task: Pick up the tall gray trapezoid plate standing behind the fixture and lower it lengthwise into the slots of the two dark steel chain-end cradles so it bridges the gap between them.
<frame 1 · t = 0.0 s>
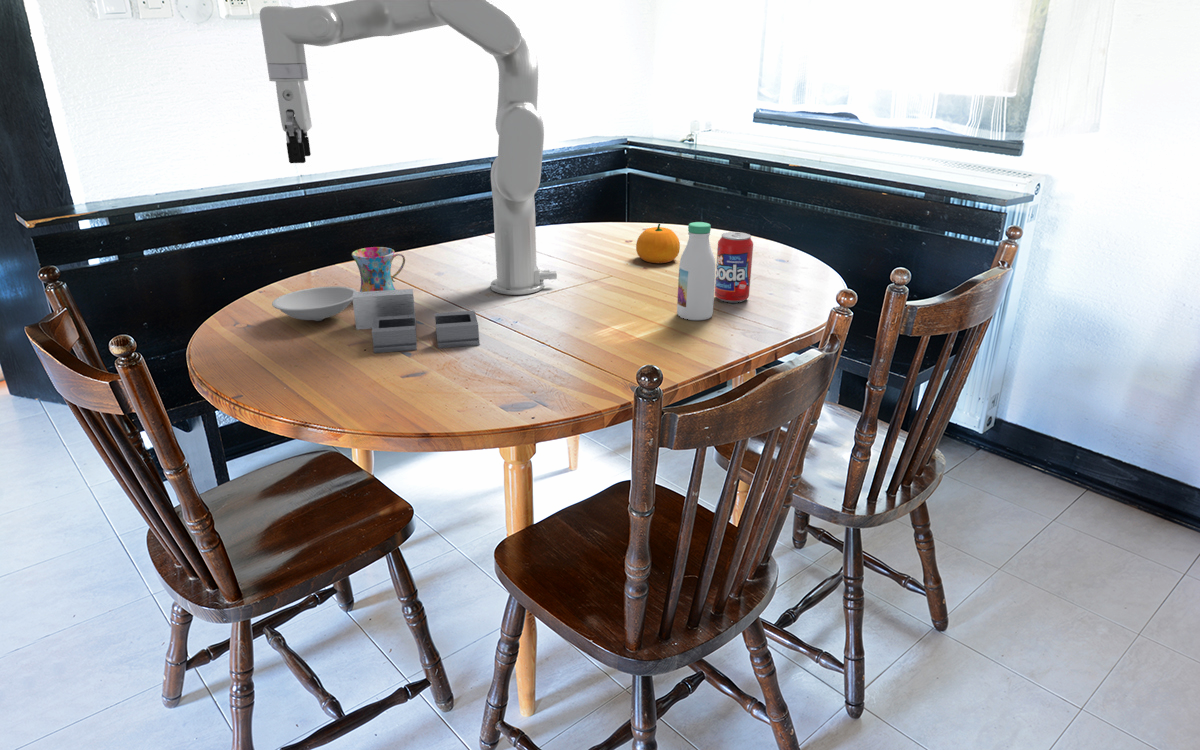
hand: (300, 159, 168), 31 cm above the table, fingers open, 9 cm apart
chain end a: (457, 337, 159), on the table
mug: (383, 296, 183), on the table
dish: (319, 320, 168), on the table
soda can: (731, 300, 182), on the table
milk bottle: (694, 316, 172), on the table
fruit: (657, 261, 213), on the table
gray trapezoid plate: (386, 325, 166), on the table
chain end b: (395, 342, 156), on the table
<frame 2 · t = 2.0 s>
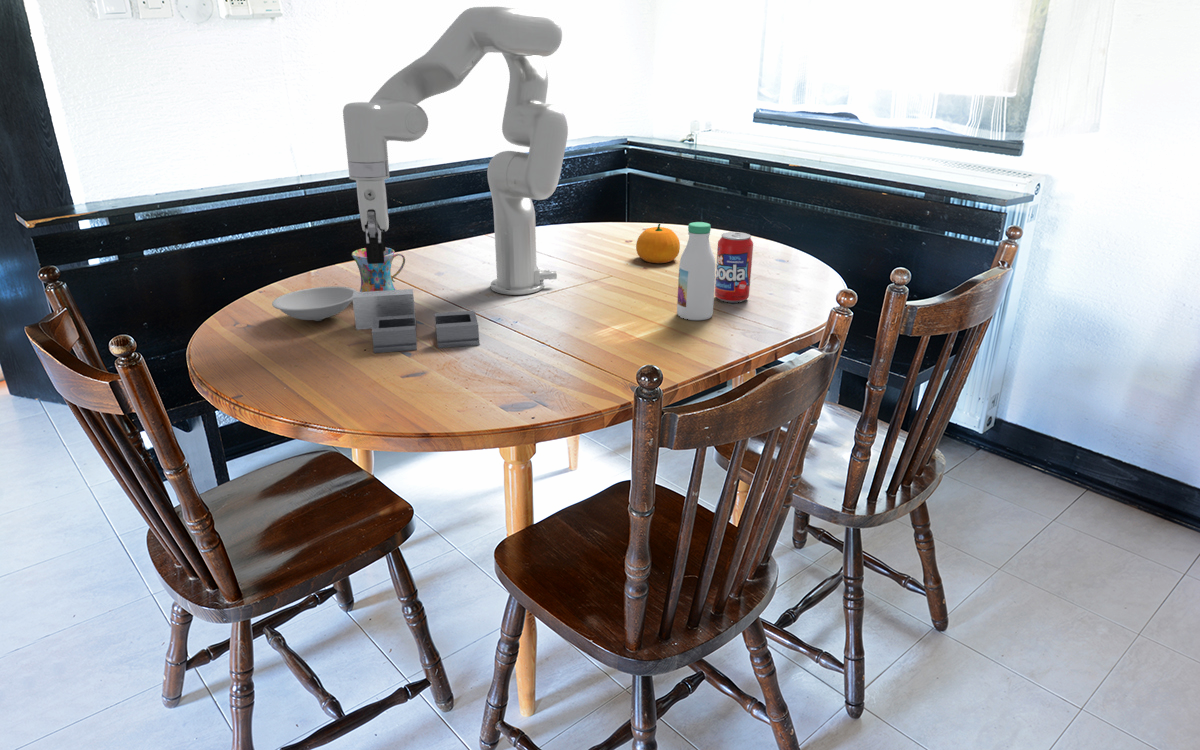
hand: (376, 257, 159), 15 cm above the table, fingers open, 9 cm apart
nothing on the table moved.
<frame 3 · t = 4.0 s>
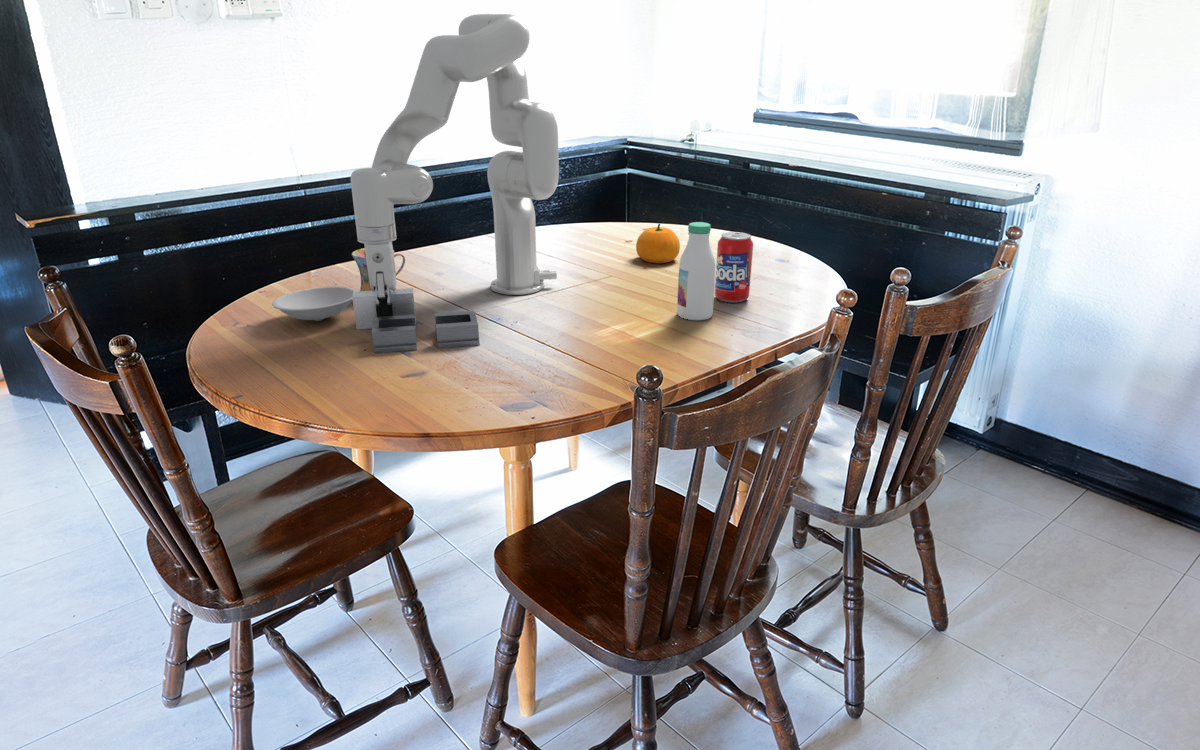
hand: (385, 318, 165), 1 cm above the table, fingers closed on gray trapezoid plate, 3 cm apart
gray trapezoid plate: (386, 324, 166), on the table, touching gripper
everything else where it was.
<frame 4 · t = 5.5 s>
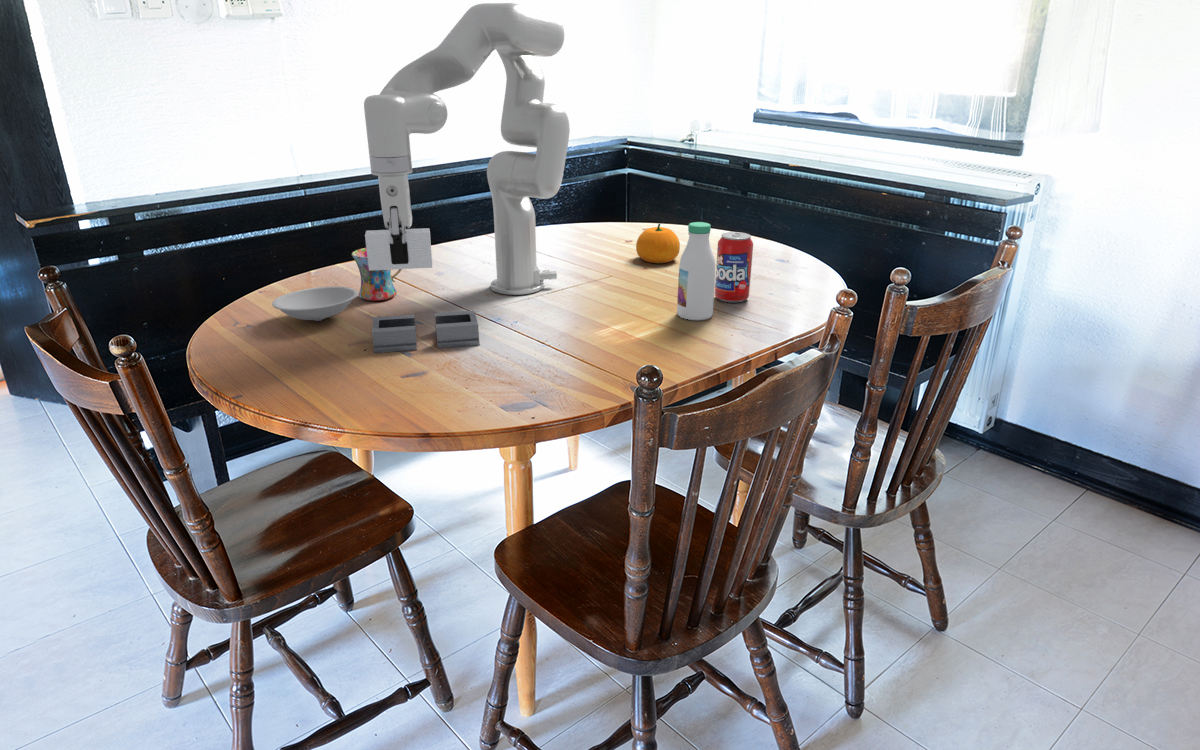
hand: (400, 259, 155), 15 cm above the table, fingers closed on gray trapezoid plate, 3 cm apart
gray trapezoid plate: (401, 266, 156), point 14 cm above the table, touching gripper
everything else where it was.
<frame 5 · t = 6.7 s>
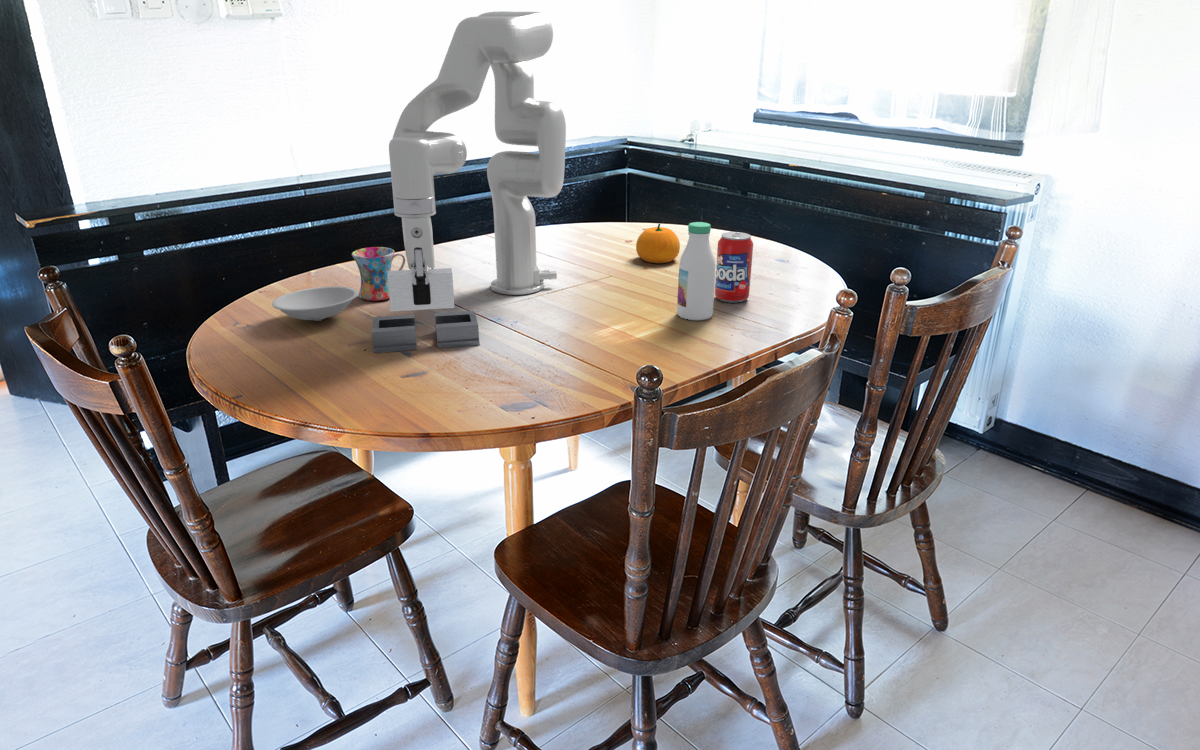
hand: (422, 300, 154), 8 cm above the table, fingers closed on gray trapezoid plate, 3 cm apart
gray trapezoid plate: (422, 306, 154), point 7 cm above the table, touching gripper
everything else where it was.
when the fingers open (4 cm above the table, at t = 7.6 s): gray trapezoid plate drops 2 cm, resting on chain end a, chain end b.
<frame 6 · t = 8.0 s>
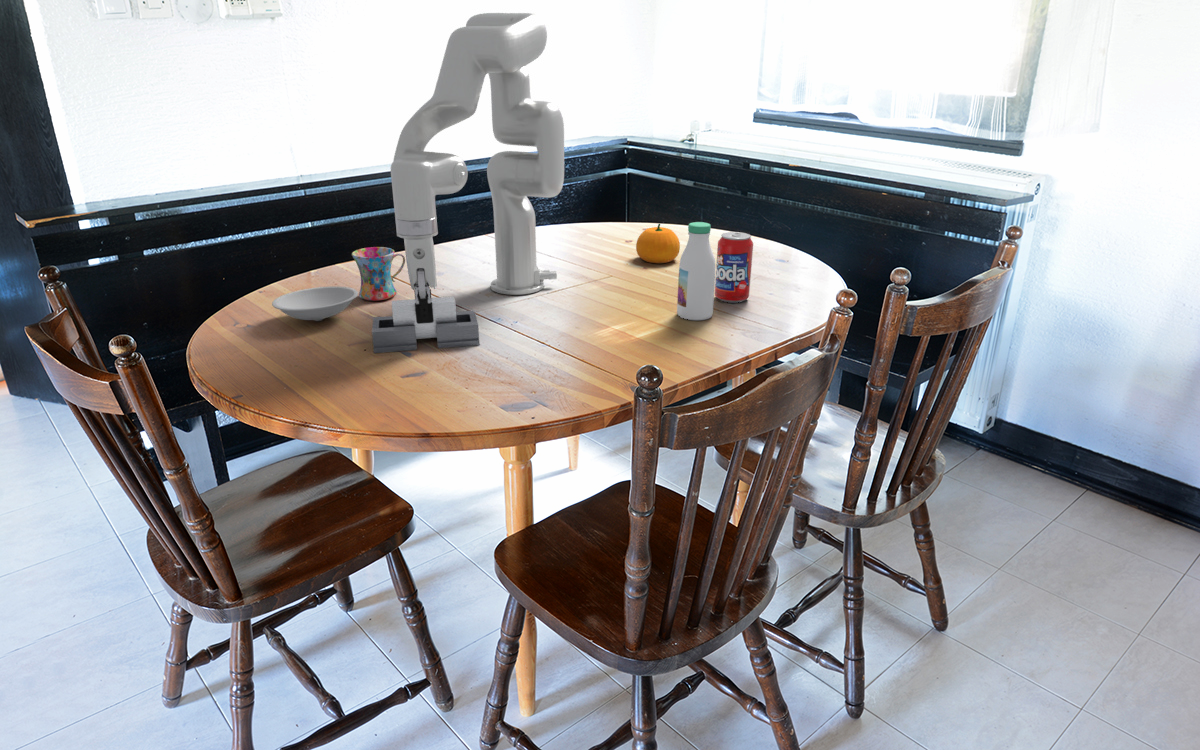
hand: (424, 315, 155), 5 cm above the table, fingers open, 7 cm apart
gray trapezoid plate: (426, 335, 157), point 1 cm above the table, touching chain end a, chain end b
everything else where it was.
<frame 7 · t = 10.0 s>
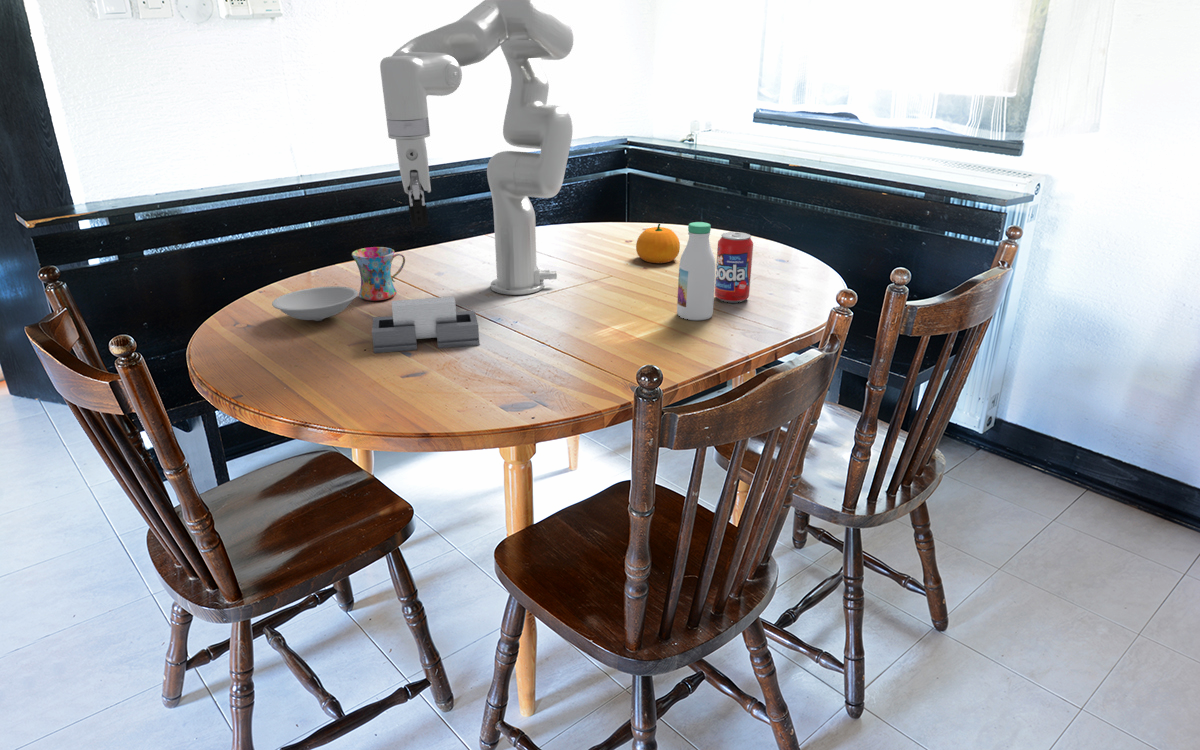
hand: (418, 220, 153), 23 cm above the table, fingers open, 9 cm apart
nothing on the table moved.
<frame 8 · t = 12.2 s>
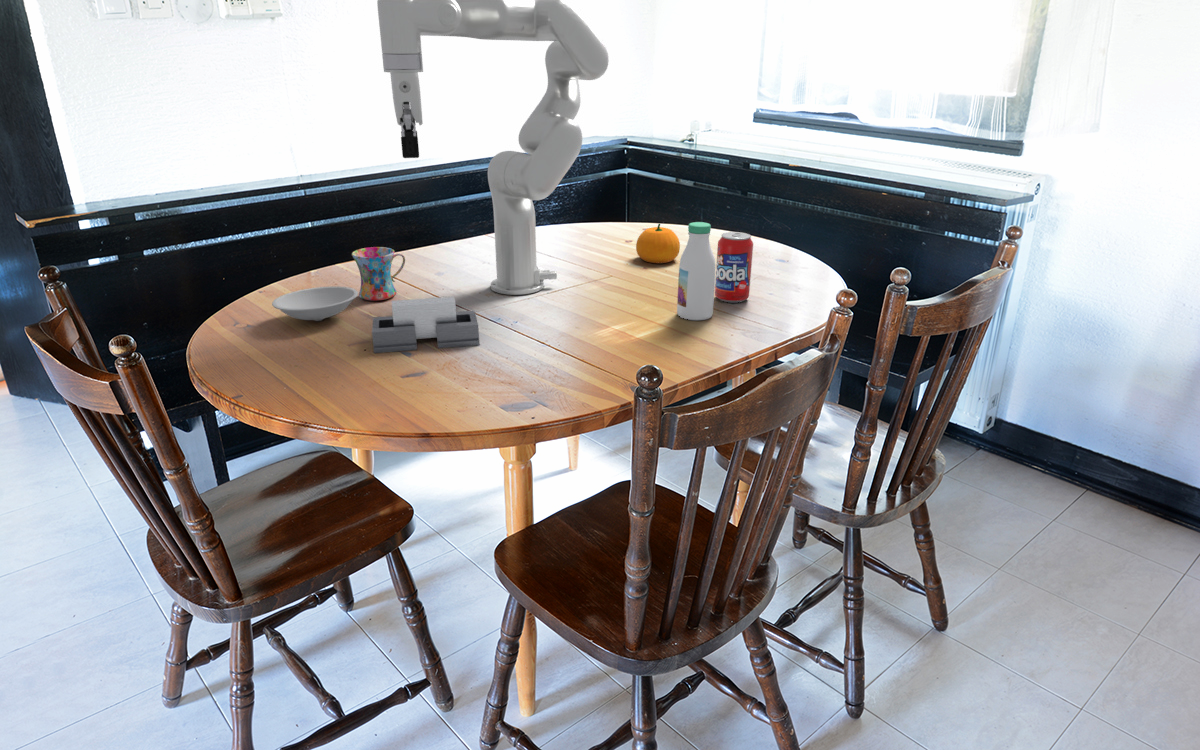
hand: (410, 154, 161), 33 cm above the table, fingers open, 9 cm apart
nothing on the table moved.
at the end: gray trapezoid plate 0.1 cm from the target spot, point 1.0 cm above the table; gray trapezoid plate tilted 0°; the gripper is holding nothing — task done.
